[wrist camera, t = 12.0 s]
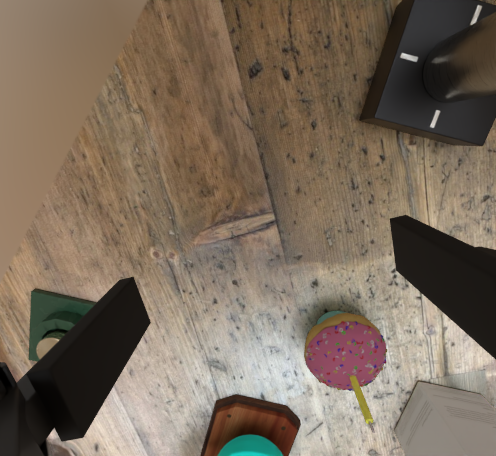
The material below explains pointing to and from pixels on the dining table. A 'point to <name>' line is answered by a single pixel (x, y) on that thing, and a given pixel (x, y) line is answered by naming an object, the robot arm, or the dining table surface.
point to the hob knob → (463, 64)
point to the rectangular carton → (447, 423)
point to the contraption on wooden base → (250, 428)
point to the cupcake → (346, 353)
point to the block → (53, 315)
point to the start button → (49, 341)
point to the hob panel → (411, 75)
